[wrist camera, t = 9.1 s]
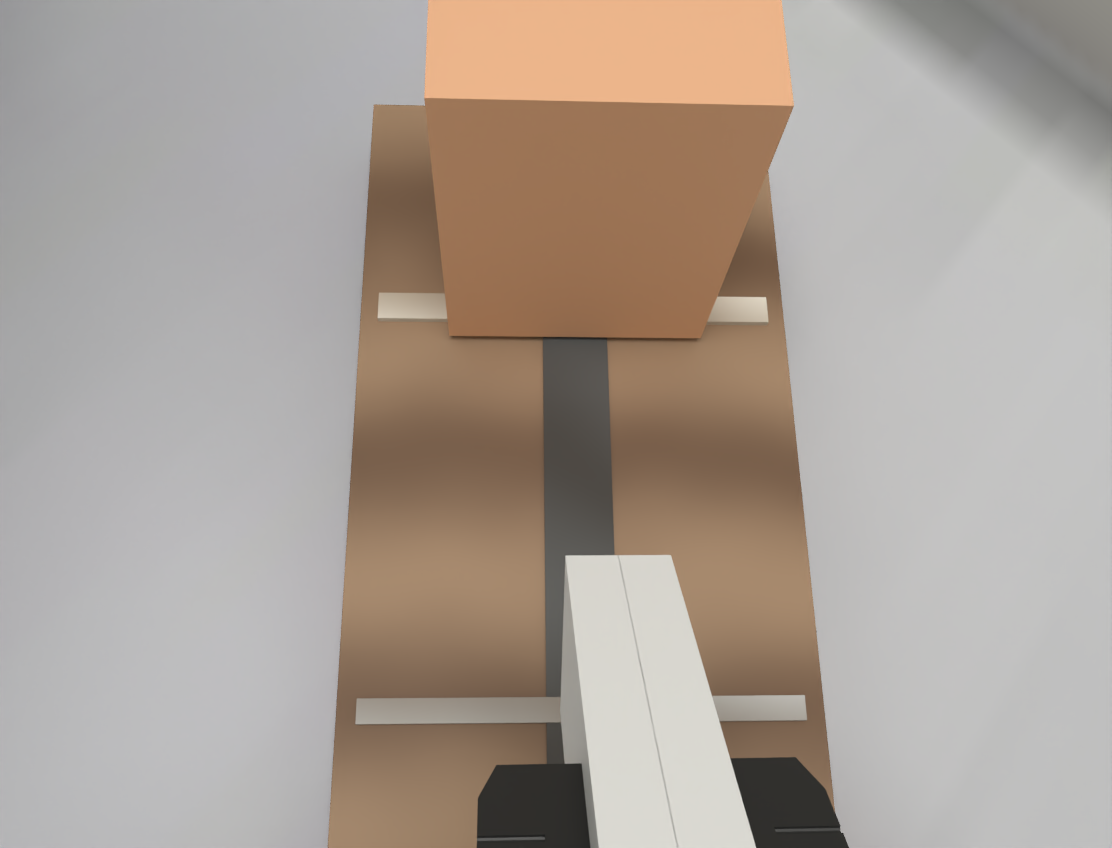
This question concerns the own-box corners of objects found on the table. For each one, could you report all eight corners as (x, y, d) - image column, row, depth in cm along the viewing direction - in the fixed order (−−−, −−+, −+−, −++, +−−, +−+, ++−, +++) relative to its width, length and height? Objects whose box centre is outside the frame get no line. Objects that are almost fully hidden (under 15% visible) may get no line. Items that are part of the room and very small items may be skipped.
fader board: (821, 967, 26) (855, 981, 24) (335, 977, 25) (317, 992, 23) (744, 161, 35) (763, 108, 32) (382, 154, 34) (373, 100, 32)
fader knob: (700, 338, 29) (793, 105, 20) (449, 336, 29) (424, 97, 20) (691, 215, 31) (775, -55, 21) (452, 212, 30) (431, -65, 21)
